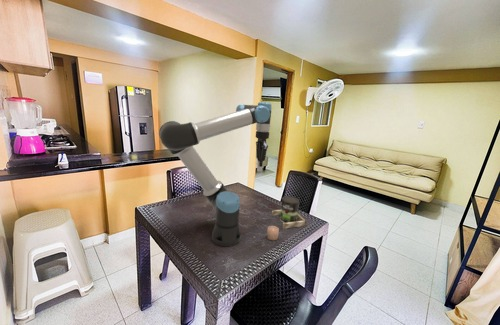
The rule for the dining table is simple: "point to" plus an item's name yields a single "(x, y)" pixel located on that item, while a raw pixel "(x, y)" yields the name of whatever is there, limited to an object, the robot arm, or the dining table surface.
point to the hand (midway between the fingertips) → (259, 171)
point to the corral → (291, 224)
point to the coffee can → (289, 209)
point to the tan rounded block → (272, 233)
